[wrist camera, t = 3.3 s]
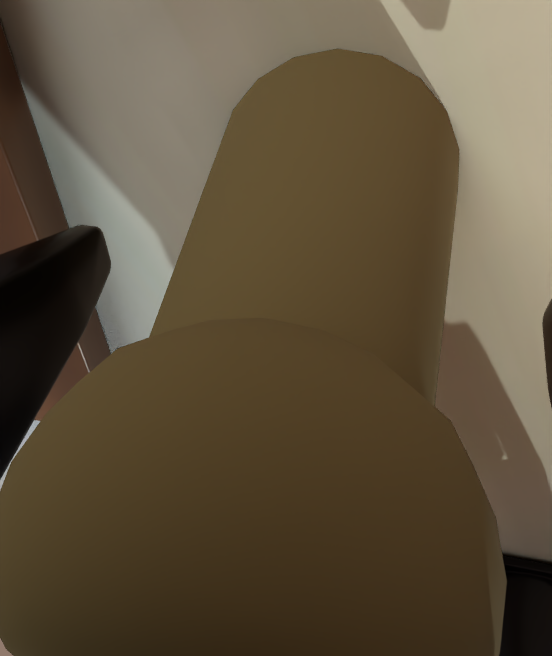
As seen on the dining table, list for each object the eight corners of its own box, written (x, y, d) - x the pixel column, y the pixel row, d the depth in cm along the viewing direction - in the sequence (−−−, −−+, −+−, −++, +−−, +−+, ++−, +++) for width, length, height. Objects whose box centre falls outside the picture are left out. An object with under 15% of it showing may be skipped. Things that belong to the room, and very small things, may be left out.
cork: (503, 215, 12) (725, 894, 4) (308, 309, 15) (202, 780, 7) (374, -23, 9) (181, 537, 1) (172, 153, 12) (-249, 621, 4)
